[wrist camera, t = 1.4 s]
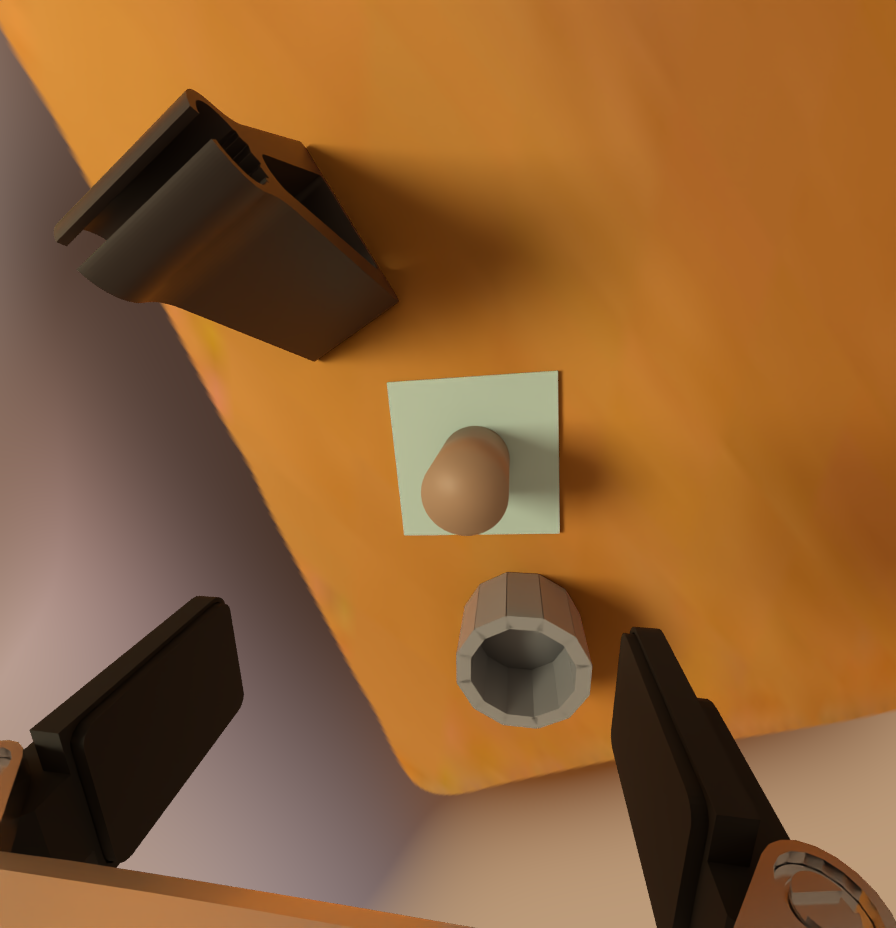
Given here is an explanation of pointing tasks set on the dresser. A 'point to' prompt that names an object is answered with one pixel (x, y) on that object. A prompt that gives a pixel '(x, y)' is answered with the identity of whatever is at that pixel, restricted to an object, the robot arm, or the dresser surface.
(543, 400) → the lid
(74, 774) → the robot arm
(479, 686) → the cup
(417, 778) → the dresser surface
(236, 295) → the phone stand
